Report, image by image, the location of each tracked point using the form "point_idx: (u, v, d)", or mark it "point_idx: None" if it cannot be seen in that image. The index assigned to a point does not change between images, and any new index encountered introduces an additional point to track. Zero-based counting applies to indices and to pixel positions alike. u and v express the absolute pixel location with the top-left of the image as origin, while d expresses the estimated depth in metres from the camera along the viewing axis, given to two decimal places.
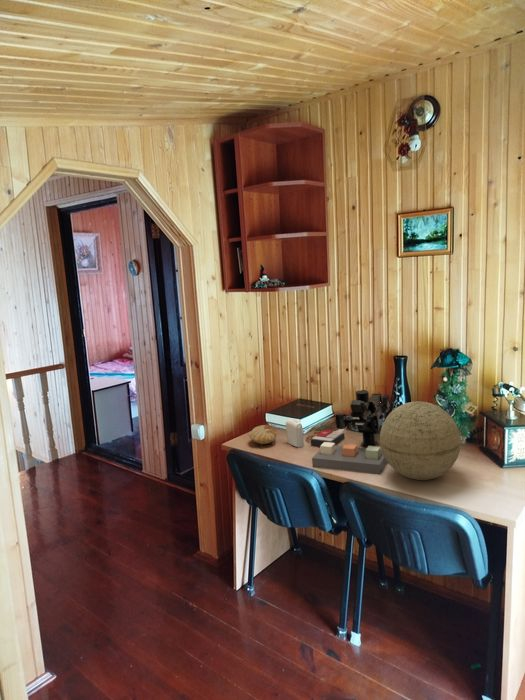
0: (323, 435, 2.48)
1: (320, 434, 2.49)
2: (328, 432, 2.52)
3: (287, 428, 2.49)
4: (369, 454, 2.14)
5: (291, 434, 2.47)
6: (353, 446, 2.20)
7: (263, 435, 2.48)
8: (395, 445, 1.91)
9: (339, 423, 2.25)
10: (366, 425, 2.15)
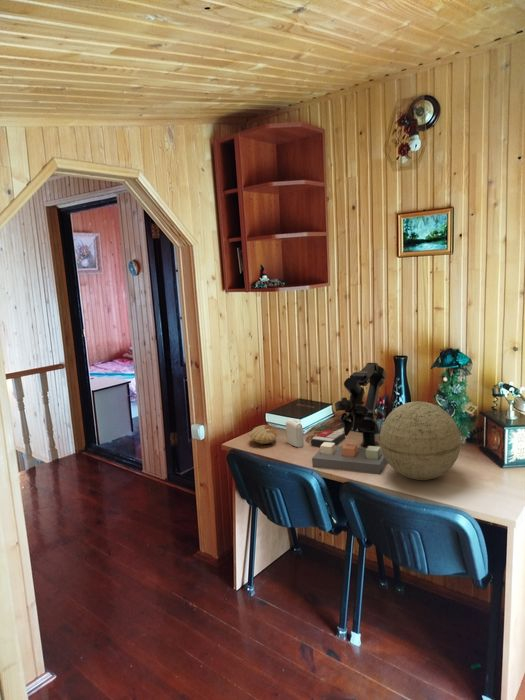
0: (323, 435, 2.47)
1: (320, 434, 2.49)
2: (328, 432, 2.52)
3: (287, 428, 2.49)
4: (369, 454, 2.14)
5: (291, 434, 2.47)
6: (353, 446, 2.20)
7: (264, 435, 2.48)
8: (395, 445, 1.91)
9: None
10: (355, 423, 2.13)
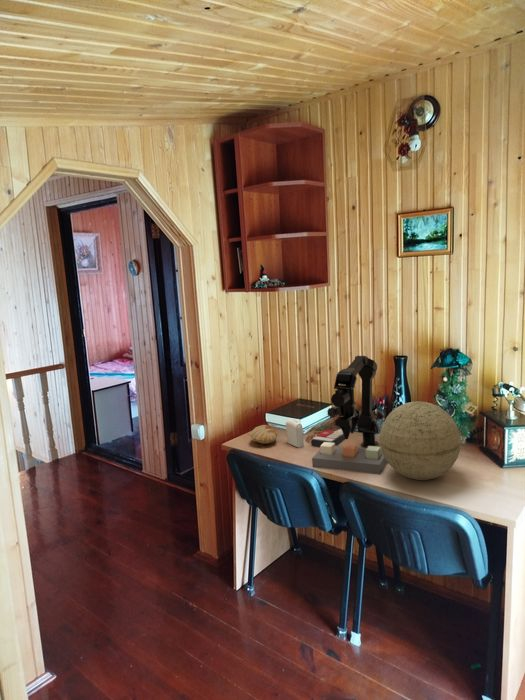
0: (324, 435, 2.47)
1: (321, 434, 2.49)
2: (329, 432, 2.52)
3: (287, 428, 2.49)
4: (369, 454, 2.14)
5: (291, 434, 2.47)
6: (353, 446, 2.20)
7: (264, 435, 2.48)
8: (395, 445, 1.91)
9: None
10: (344, 433, 2.15)
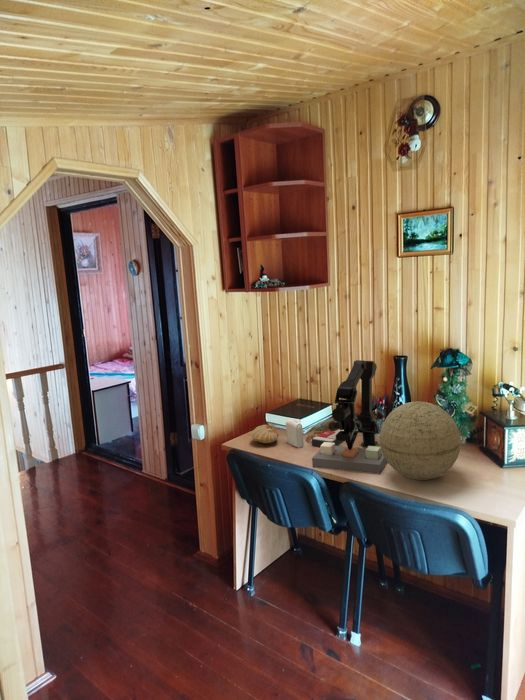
0: (324, 435, 2.47)
1: (322, 434, 2.49)
2: (330, 433, 2.51)
3: (287, 428, 2.49)
4: (369, 454, 2.14)
5: (291, 434, 2.47)
6: (353, 449, 2.20)
7: (266, 434, 2.48)
8: (395, 445, 1.91)
9: None
10: (348, 444, 2.19)
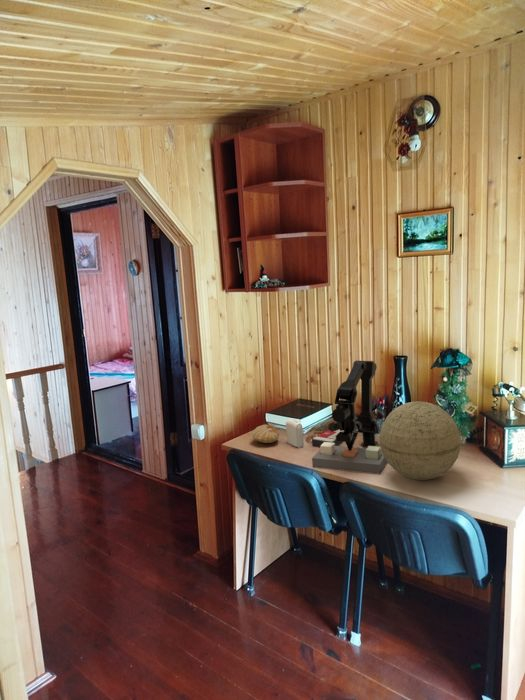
0: (325, 436, 2.47)
1: (322, 434, 2.49)
2: (330, 433, 2.51)
3: (287, 428, 2.49)
4: (369, 454, 2.14)
5: (291, 434, 2.47)
6: (353, 450, 2.20)
7: (267, 434, 2.48)
8: (395, 445, 1.91)
9: None
10: (348, 444, 2.19)
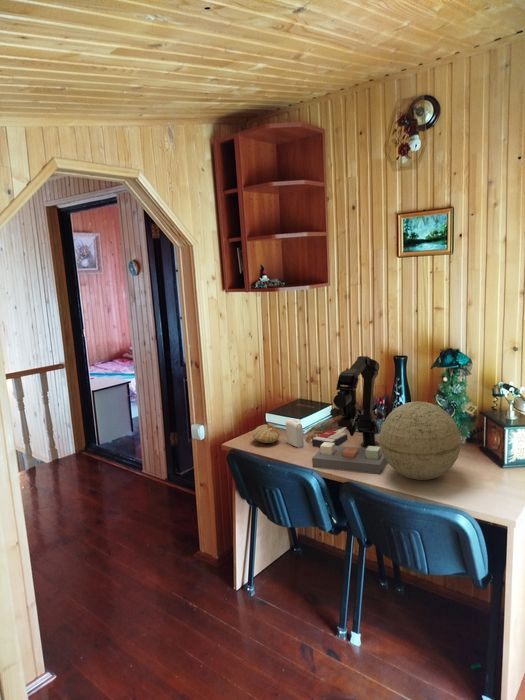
0: (325, 436, 2.47)
1: (322, 435, 2.48)
2: (331, 433, 2.51)
3: (287, 428, 2.49)
4: (369, 454, 2.14)
5: (291, 434, 2.47)
6: (353, 450, 2.20)
7: (267, 434, 2.49)
8: (395, 445, 1.91)
9: None
10: (350, 430, 2.21)
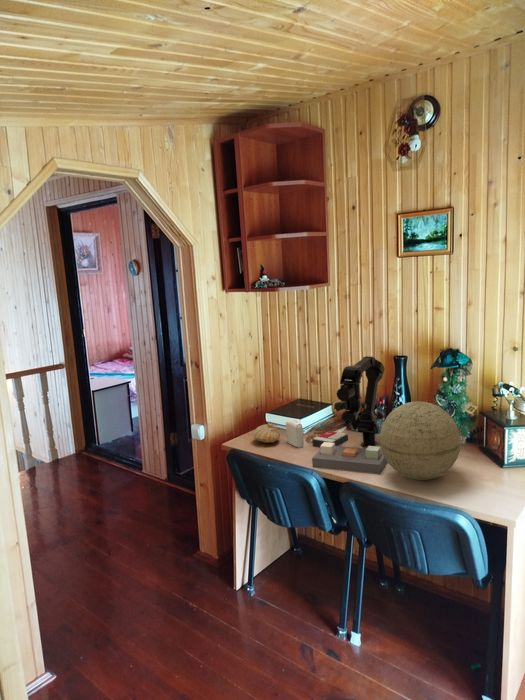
0: (325, 436, 2.46)
1: (323, 435, 2.48)
2: (331, 433, 2.50)
3: (287, 428, 2.49)
4: (369, 454, 2.14)
5: (291, 434, 2.47)
6: (353, 450, 2.20)
7: (268, 434, 2.49)
8: (395, 445, 1.91)
9: None
10: (353, 424, 2.26)
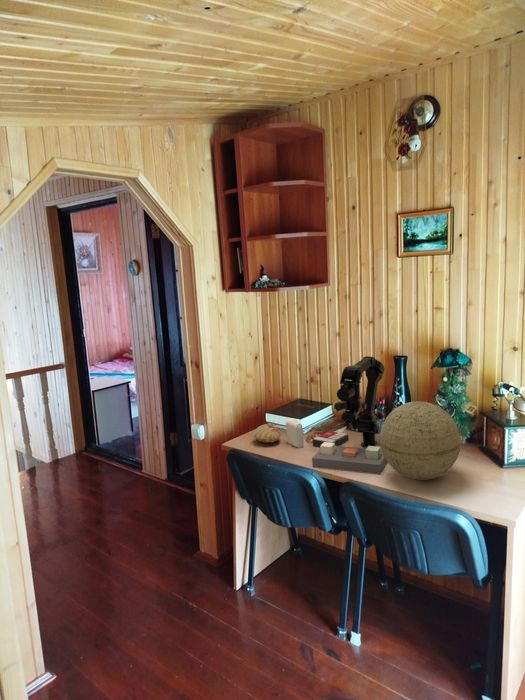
0: (326, 436, 2.46)
1: (323, 435, 2.48)
2: (332, 433, 2.50)
3: (287, 428, 2.49)
4: (369, 454, 2.14)
5: (291, 434, 2.47)
6: (353, 450, 2.20)
7: (269, 434, 2.49)
8: (395, 445, 1.91)
9: None
10: (353, 424, 2.26)
